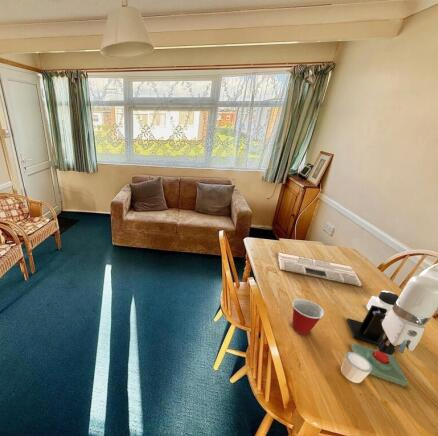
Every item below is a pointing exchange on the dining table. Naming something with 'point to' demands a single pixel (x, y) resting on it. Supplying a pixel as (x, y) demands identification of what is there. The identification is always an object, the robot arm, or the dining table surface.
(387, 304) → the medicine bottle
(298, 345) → the dining table surface
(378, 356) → the button
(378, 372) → the button box
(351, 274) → the newspaper
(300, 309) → the plastic cup
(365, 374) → the white cup
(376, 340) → the bracket
